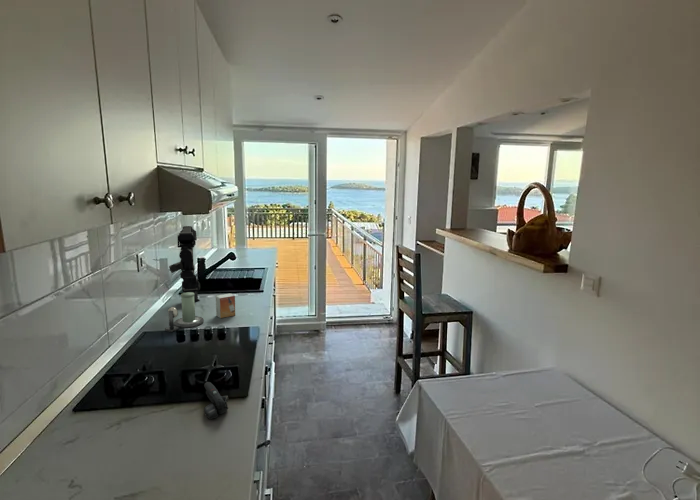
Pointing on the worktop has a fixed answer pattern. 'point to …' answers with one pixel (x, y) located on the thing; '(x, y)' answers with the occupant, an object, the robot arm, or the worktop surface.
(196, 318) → the platter
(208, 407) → the can opener
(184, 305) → the canister
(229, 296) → the small box
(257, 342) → the worktop surface
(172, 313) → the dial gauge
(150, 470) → the worktop surface
